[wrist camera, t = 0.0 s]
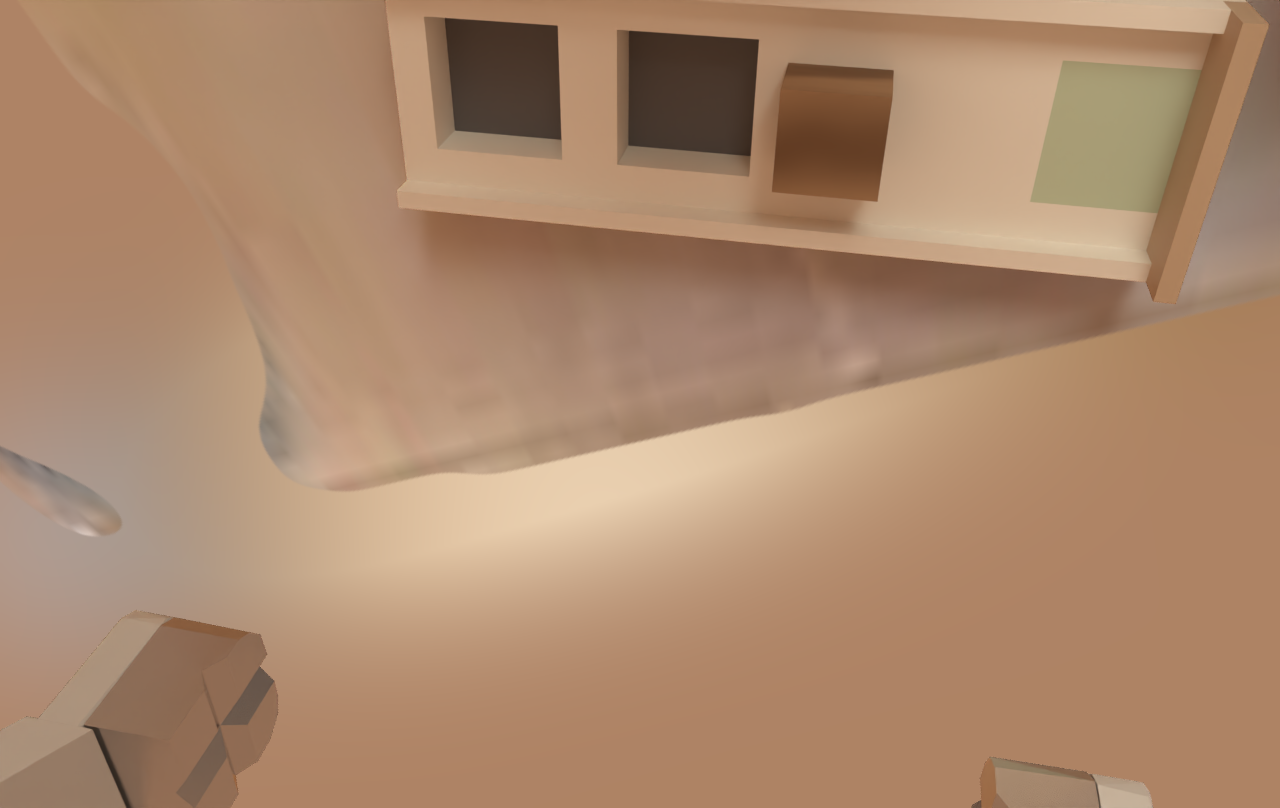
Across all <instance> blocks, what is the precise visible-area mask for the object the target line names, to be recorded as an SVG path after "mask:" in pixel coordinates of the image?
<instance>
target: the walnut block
mask: <svg viewBox="0 0 1280 808" xmlns="http://www.w3.org/2000/svg"><path fill="white" fill-rule="evenodd" d="M893 77H894V70H884V69H870V68H857V67H843V66H829V65H815V64H801V63H788V66H787V69H786V73H785V76H784V79H783V83H782V86H781V89H780V101H779V113H778V124H777V136H776V148H775V160H774V171H773V183H772V192H776V193H786V194H797V195H808V196H819V197H830V198H841V199H852V200H863V201H874V202H877V201H878V195H879V188H880V181H881V174H882V167H883V160H884V154H885V147H886V140H887V133H888V126H889V119H890V113H891V106H892V99H893Z"/></svg>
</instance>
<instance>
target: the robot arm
mask: <svg viewBox="0 0 1280 808" xmlns="http://www.w3.org/2000/svg"><path fill="white" fill-rule="evenodd" d="M266 655H267V653H266V650H265V647H264V644H263V641H262V638H261V635H260V634H255V633H251V632H245V631H240V630H235V629H230V628H226V627H221V626H216V625H211V624H206V623H201V622H196V621H190V620H186V619H181V618H175V617H170V616H165V615H159V614H154V613H148V612H142V611H137V610H136V611H134V612H132V613H130V614H128V615H127V616H125V617H123V618H121V619H120V620H119V621H118V623H117V624H116V625H115V626H114V627H113V629H112V630H111V631H110V632H109V633H108V635H107V636H106V637H105V638H104V639H103V641H102V642H101V643H100V644H99V646H98V647H97V648H96V649H95V650H94V652H93V653H92V654H91V655H90V656H89V658H88V659H87V660H86V661H85V663H84V664H83V665H82V666H81V667H80V668H79V670H78V671H77V672H76V673H75V674H74V676H73V677H72V678H71V679H70V680H69V682H68V683H67V684H66V685H65V687H64V688H63V689H62V690H61V691H60V692H59V694H58V695H57V696H56V697H55V698H54V700H53V701H52V702H51V703H50V704H49V706H48V707H47V708H46V709H45V711H44V712H43V713H42V714H41V715H40V716H39V718H34V717H28V716H26V717H24V718H23V719H21V720H19V721H17V722H15V723H13V724H11V725H9V726H7V727H6V728H3V729H2V730H0V808H230V807H231V806H232V804H233V802H234V801H235V799H236V797H237V796H238V788H237V782H236V775H237V774H238V773H240V772H241V771H243V770H245V769H246V768H248V767H249V766H251V765H252V764H254V763H256V762H257V761H258V760H259V758H260V757H261V755H262V753H263V751H264V750H265V748H266V746H267V744H268V743H269V741H270V739H271V735H272V732H273V728H274V725H275V721H276V718H277V715H278V694H277V690H276V686H275V682H274V680H273V679H272V678H271V677H270V676H269V675H268V674H267V673H266V672H265V671H264V670H263V669H261V667H260V665H261V663H262V662H263V660H264V659H265V657H266ZM980 786H981V800H980V801H978V802H977V803H975V804H973V805H972V807H971V808H1153V805H1152V800H1151V796H1150V792H1149V791H1148V789H1147V788H1146V786H1145V785H1144V784H1143V783H1142V782H1137V781H1131V780H1125V779H1119V778H1113V777H1107V776H1101V775H1095V774H1088V773H1087V772H1084V771H1078V770H1071V769H1064V768H1059V767H1052V766H1046V765H1039V764H1033V763H1027V762H1020V761H1013V760H1007V759H1001V758H995V757H989V759H988V760H987V761H986V762H985V765H984V768H983V771H982V774H981V777H980Z"/></svg>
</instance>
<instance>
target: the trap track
mask: <svg viewBox="0 0 1280 808" xmlns="http://www.w3.org/2000/svg"><path fill="white" fill-rule="evenodd" d="M385 4H386V13H387V21H388V29H389V38H390V46H391V54H392V62H393V71H394V79H395V87H396V95H397V104H398V112H399V120H400V128H401V137H402V145H403V153H404V161H405V170H406V178H407V180H406V181H405V182H404V184H403V185H402V186H401V187H400V188H399V189H398V190H397V191H396V192H397V199H398V207H399V208H405V209H416V210H426V211H436V212H446V213H456V214H466V215H476V216H486V217H496V218H506V219H516V220H526V221H536V222H546V223H556V224H566V225H576V226H586V227H596V228H606V229H616V230H627V231H637V232H647V233H657V234H667V235H677V236H687V237H697V238H707V239H717V240H727V241H737V242H747V243H757V244H767V245H777V246H787V247H797V248H807V249H817V250H827V251H838V252H848V253H858V254H868V255H878V256H888V257H898V258H908V259H918V260H928V261H938V262H948V263H958V264H968V265H978V266H988V267H998V268H1008V269H1018V270H1028V271H1038V272H1049V273H1059V274H1069V275H1079V276H1089V277H1099V278H1109V279H1119V280H1129V281H1139V282H1146V284H1147V286H1148V289H1149V291H1150V294H1151V297H1152V299H1153V302H1161V303H1171V304H1176V301H1177V298H1178V295H1179V292H1180V289H1181V286H1182V283H1183V280H1184V277H1185V275H1186V272H1187V269H1188V266H1189V263H1190V260H1191V257H1192V254H1193V251H1194V248H1195V245H1196V242H1197V239H1198V236H1199V233H1200V230H1201V227H1202V224H1203V221H1204V218H1205V215H1206V212H1207V209H1208V206H1209V203H1210V200H1211V197H1212V194H1213V191H1214V188H1215V185H1216V182H1217V179H1218V176H1219V173H1220V170H1221V167H1222V164H1223V161H1224V158H1225V155H1226V152H1227V149H1228V147H1229V144H1230V141H1231V138H1232V135H1233V132H1234V129H1235V126H1236V123H1237V120H1238V117H1239V114H1240V111H1241V108H1242V105H1243V102H1244V99H1245V96H1246V93H1247V90H1248V87H1249V84H1250V81H1251V78H1252V75H1253V72H1254V69H1255V66H1256V63H1257V60H1258V57H1259V54H1260V51H1261V48H1262V45H1263V42H1264V39H1265V36H1266V33H1267V30H1268V27H1269V24H1268V23H1267V22H1266V21H1265V20H1264V19H1263V18H1262V17H1261V15H1260V14H1259V13H1258V12H1257V11H1256V10H1255V9H1254V8H1253V7H1252V6H1251V5H1250V4H1249V3H1248V2H1247V1H1246V0H385ZM788 63H801V64H815V65H829V66H843V67H857V68H870V69H884V70H894V77H893V99H892V106H891V113H890V119H889V126H888V133H887V140H886V147H885V154H884V160H883V167H882V174H881V181H880V188H879V195H878V201H877V202H874V201H863V200H852V199H841V198H830V197H819V196H808V195H797V194H786V193H776V192H772V183H773V171H774V160H775V148H776V136H777V124H778V113H779V101H780V89H781V86H782V83H783V79H784V76H785V73H786V69H787V66H788Z"/></svg>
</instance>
